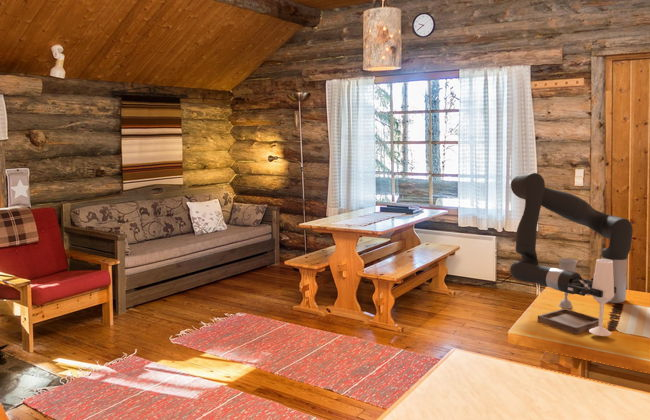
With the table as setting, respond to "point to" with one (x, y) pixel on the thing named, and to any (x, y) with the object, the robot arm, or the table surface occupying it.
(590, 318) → the tray
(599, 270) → the champagne flute
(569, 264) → the chalice
